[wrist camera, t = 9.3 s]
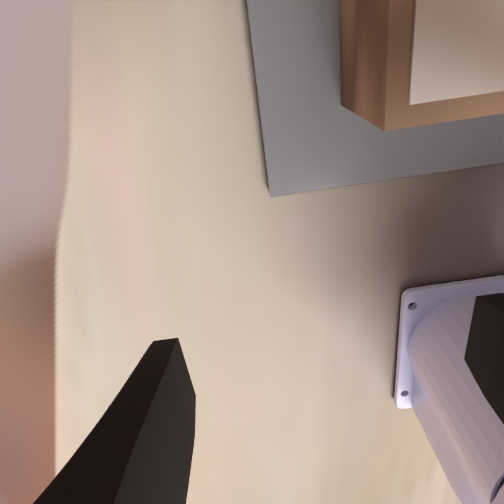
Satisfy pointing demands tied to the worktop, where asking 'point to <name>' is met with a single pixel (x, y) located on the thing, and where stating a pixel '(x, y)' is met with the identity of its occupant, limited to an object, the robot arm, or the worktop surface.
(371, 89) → the box stamped
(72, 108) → the worktop surface
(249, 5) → the coaster
